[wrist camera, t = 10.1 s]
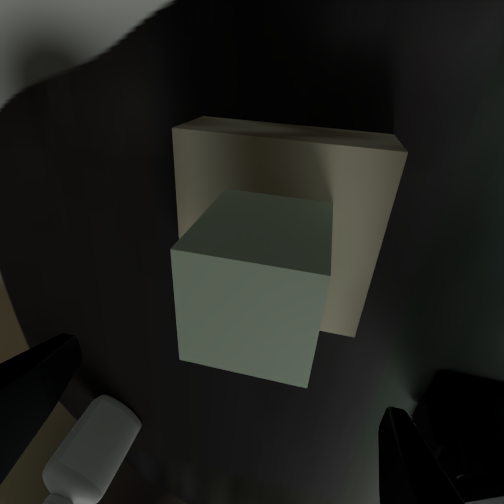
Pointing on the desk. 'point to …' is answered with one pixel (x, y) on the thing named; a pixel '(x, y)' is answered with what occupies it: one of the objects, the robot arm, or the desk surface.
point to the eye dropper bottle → (91, 453)
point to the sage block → (254, 284)
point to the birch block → (299, 189)
